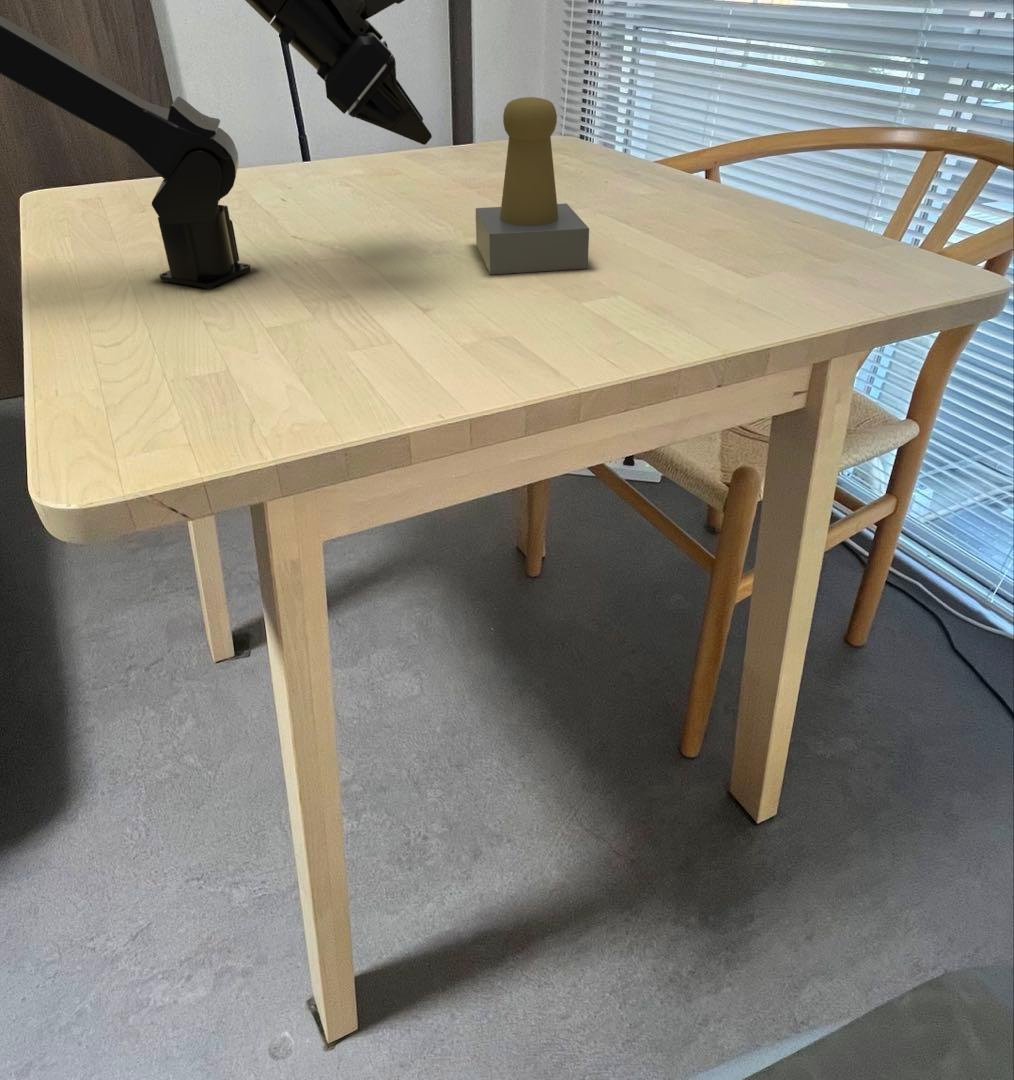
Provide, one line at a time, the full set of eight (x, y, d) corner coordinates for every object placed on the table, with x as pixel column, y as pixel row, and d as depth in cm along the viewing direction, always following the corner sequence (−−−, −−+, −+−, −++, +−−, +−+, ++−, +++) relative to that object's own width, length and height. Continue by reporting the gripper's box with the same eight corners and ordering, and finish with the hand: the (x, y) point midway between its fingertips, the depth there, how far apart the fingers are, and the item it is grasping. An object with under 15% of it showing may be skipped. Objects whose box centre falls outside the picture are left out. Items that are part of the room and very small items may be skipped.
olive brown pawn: (516, 228, 85) (516, 105, 79) (489, 214, 90) (487, 96, 83) (569, 220, 88) (573, 100, 81) (540, 207, 92) (542, 92, 86)
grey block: (490, 274, 86) (489, 233, 84) (476, 246, 94) (475, 207, 92) (587, 268, 88) (589, 228, 85) (565, 240, 96) (567, 203, 93)
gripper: (351, -87, 65) (497, 75, 73) (347, -82, 80) (469, 52, 88) (261, 36, 68) (410, 178, 76) (274, 18, 84) (397, 138, 91)
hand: (424, 131), depth 83 cm, fingers open, 9 cm apart
